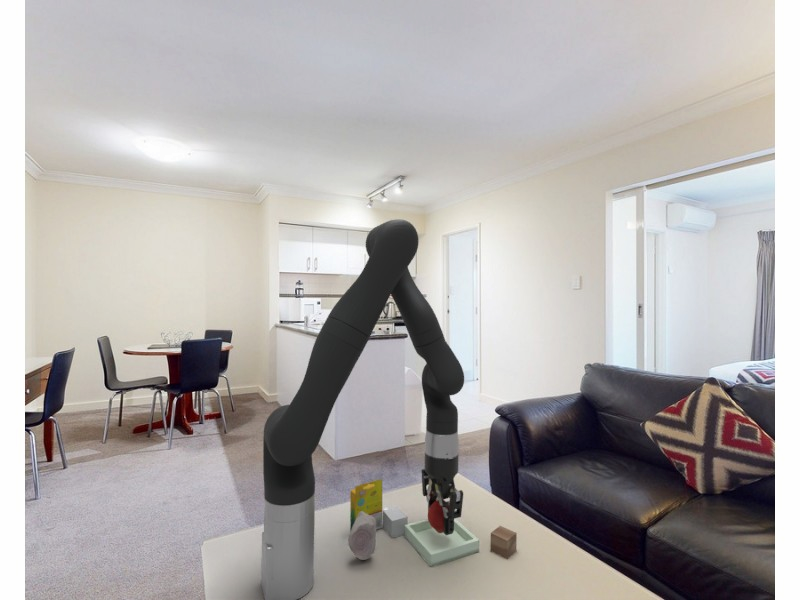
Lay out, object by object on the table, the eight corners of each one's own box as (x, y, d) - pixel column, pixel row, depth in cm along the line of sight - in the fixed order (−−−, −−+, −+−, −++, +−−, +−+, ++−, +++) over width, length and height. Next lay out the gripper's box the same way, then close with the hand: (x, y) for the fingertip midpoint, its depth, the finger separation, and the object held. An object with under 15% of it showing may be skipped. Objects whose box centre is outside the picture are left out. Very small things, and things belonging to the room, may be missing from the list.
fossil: (348, 568, 80) (349, 518, 80) (346, 557, 84) (347, 509, 84) (377, 563, 82) (377, 514, 82) (373, 553, 85) (374, 506, 85)
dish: (431, 567, 81) (431, 554, 81) (404, 535, 92) (404, 524, 92) (479, 551, 86) (479, 540, 86) (448, 523, 97) (448, 513, 97)
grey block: (391, 538, 91) (392, 520, 91) (382, 527, 95) (383, 510, 95) (407, 534, 93) (407, 516, 93) (397, 523, 97) (398, 506, 97)
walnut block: (507, 559, 84) (507, 540, 84) (490, 551, 86) (490, 532, 86) (516, 551, 87) (516, 532, 87) (499, 543, 89) (500, 525, 89)
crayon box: (376, 522, 97) (377, 474, 97) (383, 528, 95) (383, 478, 95) (349, 531, 93) (350, 481, 93) (355, 537, 91) (355, 486, 91)
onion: (453, 526, 91) (453, 491, 91) (454, 541, 86) (454, 504, 86) (427, 524, 92) (428, 489, 92) (427, 539, 86) (427, 502, 86)
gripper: (411, 442, 94) (410, 514, 94) (444, 465, 81) (443, 548, 81) (438, 437, 97) (437, 507, 97) (474, 459, 84) (473, 539, 84)
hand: (440, 525), depth 89 cm, fingers closed on onion, 6 cm apart
